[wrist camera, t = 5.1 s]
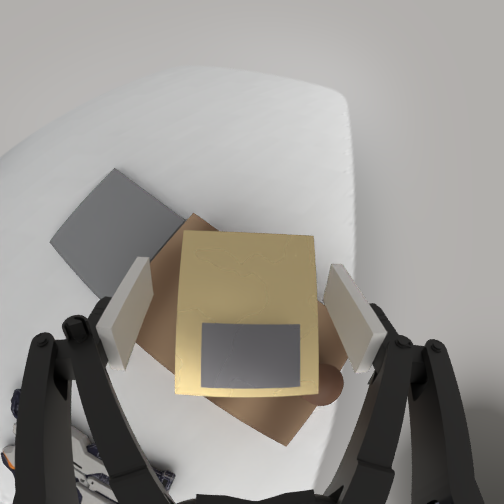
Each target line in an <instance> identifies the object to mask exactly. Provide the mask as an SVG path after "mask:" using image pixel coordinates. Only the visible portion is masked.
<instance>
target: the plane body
mask: <svg viewBox="0 0 504 504" xmlns="http://www.w3.org/2000/svg"><path fill="white" fill-rule="evenodd" d="M184 230H192V231H219V230H217V229H216V228H214V227H213V226H211V225H210V224H209V223H207V222H206V221H204V220H203V219H202V218H200V217H199V216H197V215H196V214H194V213H193V214H192V215H191V216H190V217H189V219H188V220H187V221H186V222H185V223H184V224H183V225H182V226H181V228H180V229H179V230H178V231H177V232H176V233H175V234H174V236H173V237H172V238H171V239H170V240H169V241H168V242H167V244H166V245H165V246H164V247H163V248H162V249H161V251H160V252H159V253H158V254H157V255H156V257H155V258H154V259H153V260H152V261H151V263H150V270H151V279H152V287H153V294H154V295H153V298H152V300H151V302H150V305H149V307H148V310H147V313H146V315H145V318H144V320H143V323H142V325H141V328H140V331H139V333H138V336H137V339H136V343H137V344H138V345H139V346H140V347H142V348H143V349H144V350H145V351H146V352H147V353H149V354H150V355H151V356H152V357H153V358H155V359H156V360H157V361H158V362H159V363H161V364H162V365H163V366H164V367H166V368H167V369H168V370H169V371H171V372H172V373H173V374H174V375H175V349H176V323H177V304H178V289H179V275H180V263H181V252H182V242H183V233H184ZM317 305H318V344H319V385H318V394H310V395H297V396H279V397H212V396H204V397H205V398H207V399H208V400H210V401H211V402H213V403H214V404H216V405H217V406H219V407H220V408H222V409H223V410H225V411H226V412H228V413H229V414H231V415H232V416H234V417H236V418H237V419H239V420H240V421H242V422H244V423H245V424H247V425H249V426H250V427H252V428H254V429H255V430H257V431H259V432H261V433H262V434H264V435H266V436H268V437H269V438H271V439H273V440H275V441H277V442H279V443H280V444H282V445H284V446H287V445H288V444H289V442H290V441H291V440H292V439H293V437H294V436H295V435H296V434H297V432H298V431H299V430H300V428H301V427H302V426H303V424H304V423H305V422H306V420H307V419H308V418H309V416H310V415H311V413H312V412H313V411H314V409H315V408H316V406H325V405H328V404H330V403H332V402H334V401H335V400H336V399H337V398H338V397H339V396H340V394H341V392H342V389H343V385H344V382H343V376H342V374H341V372H340V370H341V369H342V367H343V365H344V364H345V362H346V360H347V359H348V355H347V353H346V351H345V348H344V346H343V344H342V341H341V339H340V337H339V335H338V332H337V330H336V328H335V326H334V323H333V321H332V319H331V317H330V314H329V312H328V310H327V308H326V306H325V305H323V304H322V303H320V302H319V301H318V300H317Z"/></svg>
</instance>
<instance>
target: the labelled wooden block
mask: <svg viewBox="0 0 504 504" xmlns="http://www.w3.org/2000/svg"><path fill="white" fill-rule="evenodd" d="M318 385H319V344H318V305H317V282H316V265H315V250H314V236H307V235H287V234H267V233H245V232H220V231H192V230H184V233H183V242H182V252H181V263H180V275H179V289H178V304H177V323H176V349H175V394H182V395H195V396H212V397H279V396H297V395H310V394H318Z"/></svg>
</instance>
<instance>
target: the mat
mask: <svg viewBox="0 0 504 504" xmlns="http://www.w3.org/2000/svg"><path fill="white" fill-rule="evenodd" d="M184 223H185V220H184V219H183V218H182V217H180V216H179V215H178V214H176V213H175V212H173V211H172V210H171V209H169V208H168V207H167V206H165V205H164V204H163V203H161V202H160V201H158V200H157V199H156V198H154V197H153V196H152V195H150V194H149V193H148V192H146V191H145V190H144V189H142V188H141V187H139V186H138V185H137V184H135V183H134V182H133V181H131V180H130V179H129V178H127V177H126V176H125V175H123V174H122V173H121V172H119V171H118V170H117V169H115V168H114V169H113V170H112V171H111V172H110V173H109V174H108V175H107V176H106V177H105V178H104V179H103V180H102V181H101V182H100V184H99V185H98V186H97V187H96V188H95V189H94V190H93V191H92V192H91V193H90V194H89V195H88V196H87V197H86V198H85V200H84V201H83V202H82V203H81V204H80V205H79V206H78V207H77V209H76V210H75V211H74V212H73V213H72V214H71V216H70V217H69V218H68V219H67V220H66V222H65V223H64V224H63V225H62V226H61V228H60V229H59V230H58V231H57V233H56V234H55V235H54V236H53V238H52V239H51V240H50V243H51V245H52V246H53V247H54V248H55V250H56V251H57V252H58V253H59V254H60V256H61V257H62V258H63V259H64V260H65V262H66V263H67V264H68V265H69V266H70V267H71V268H72V270H73V271H74V272H75V273H76V274H77V275H78V276H79V277H80V279H81V280H82V281H83V282H84V283H85V284H86V285H87V286H88V287H89V288H90V289H91V290H92V291H93V292H94V294H95V295H96V296H97V297H98V298H99V299H100V300H101V299H102V298H103V297H105V296H107V297H113V295H114V294H115V292H116V290H117V289H118V287H119V285H120V284H121V282H122V281H123V279H124V277H125V276H126V274H127V272H128V271H129V269H130V268H131V266H132V265H133V263H134V261H135V260H136V258H137V257H149V261H150V263H151V261H152V260H153V259H154V258H155V257H156V255H157V254H158V253H159V252H160V251H161V249H162V248H163V247H164V246H165V245H166V244H167V242H168V241H169V240H170V239H171V238H172V237H173V236H174V234H175V233H176V232H177V231H178V230H179V229H180V228H181V226H182V225H183V224H184Z"/></svg>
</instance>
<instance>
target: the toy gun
mask: <svg viewBox="0 0 504 504" xmlns="http://www.w3.org/2000/svg"><path fill="white" fill-rule="evenodd" d="M20 393H21V389H16V390H15V391H14V393H13V397H12V399H11V403H12V404H11V411H12V413H13V415H14V417H15V418H16V419H17V415H18V407H19V399H20ZM16 424H17V423H16ZM16 424H14V425H13V433H14V434H15V435H16ZM71 435H72V452H73V463H74V472H75V480H76V487H77V493H78V499H79V504H119V503H118V501H117V499H116V497H115V495H114V493H113V491H112V489H111V487H110V485H109V481H108V480H109V475H108V473H107V470H106V468H105V466H104V464H103V461H102V459H101V457H100V454H99V452H98V449H97V447H96V444H95V443H93V444H91V443H90V440H89V438H88V436H87V435H85V434H84V433H82V432H81V431H79V430H78V429H76V428H75V427H73V426H72V425H71ZM1 457H2V461H3V464H4V465H5V466H6V467H7V468H8V469H9V470H10V471H11V472H12V473H13V475H14V478H15V445H14V446H6V447H5V448H4V449H3V452H2V453H1ZM152 469H153V470H154V472H155V474H156V475H157V477H158V479H159V480H160V482H161V483H162V485H163V486H164V488H165V489H166V491H167V492H168V493H169V489H170V487H171V485H172V483H173V480H174V478H175V474H174V473H172V472H170V471H167V470H165V471H164V472H161V471H159V470H157V469H155V468H153V467H152Z"/></svg>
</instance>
